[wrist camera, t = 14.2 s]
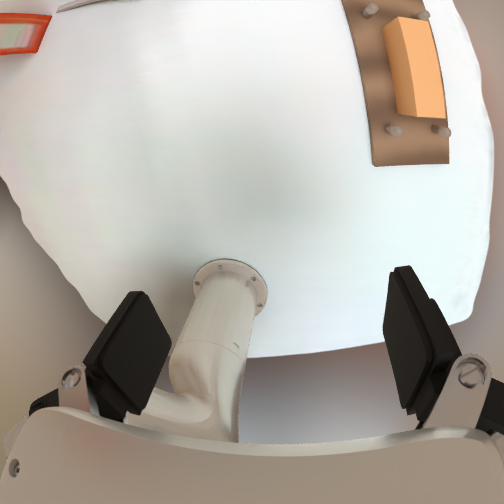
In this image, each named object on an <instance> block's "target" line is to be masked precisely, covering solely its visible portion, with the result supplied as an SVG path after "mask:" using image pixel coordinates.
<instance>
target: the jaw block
mask: <svg viewBox="0 0 504 504" xmlns="http://www.w3.org/2000/svg"><path fill="white" fill-rule="evenodd" d="M381 29H382V32H383V36H384V40H385V45H386V49H387V53H388V58H389V63H390V68H391V73H392V79H393V85H394V92H395V99H396V106H397V114H402V115H409V116H415V117H431V118H446V116H445V105H444V96H443V88H442V82H441V75H440V69H439V64H438V59H437V54H436V50H435V45H434V41H433V37H432V33H431V29H430V26H429V22H428V21H423V20H417V19H411V18H405V17H397V18H395V19H394V20H392V21H391V22H390V23H388V24H387V25H385V26H384V27H383V28H381Z"/></svg>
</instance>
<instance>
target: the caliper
mask: <svg viewBox="0 0 504 504" xmlns="http://www.w3.org/2000/svg"><path fill="white" fill-rule="evenodd" d="M96 1H100V0H75V1H72V2H69V3H67V4H64V5H62V6H59V7H58V9H57V12H56V13H58V12H62V11H66V10H69V9H72V8H75V7H79V6H82V5H85V4H89V3H92V2H96Z"/></svg>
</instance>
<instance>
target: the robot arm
mask: <svg viewBox="0 0 504 504" xmlns="http://www.w3.org/2000/svg"><path fill="white" fill-rule="evenodd" d="M193 293H194V296H195V301H194V303H193V306H192V308H191V310H190V312H189V315H188V317H187V319H186V322H185V324H184V326H183V329H182V331H181V333H180V336H179V338H178V340H177V343H176V345H175V348H174V350H173V352H172V355H171V358H170V362H169V375H170V380H171V383H172V386H173V388H174V391H175V393H176V395H175V394H172V393H169V392H165V391H163V390H160V389H157V388H155V387H154V386H155V384H156V381H157V379H158V376H159V374H160V372H161V369H162V367H163V365H164V362H165V359H166V357H167V355H168V353H169V350H170V348H171V344H172V343H171V339H170V337H169V335H168V333H167V331H166V329H165V328H164V326H163V324H162V322H161V320H160V318H159V316H158V314H157V312H156V310H155V308H154V306H153V305H152V303H151V301H150V298H149V297H148V295H146V294H145V293H144V292H143V291H131V292H129V293H128V294H127V296H126V297H125V298H124V300H123V301H122V303H121V304H120V305H119V307H118V308H117V310H116V311H115V313H114V314H113V316H112V317H111V319H110V320H109V321H108V323H107V324H106V326H105V327H104V329H103V331H102V332H101V334H100V335H99V337H98V338H97V340H96V341H95V343H94V344H93V346H92V347H91V349H90V351H89V352H88V354H87V355H86V357H85V359H84V361H83V363H84V365H85V366H86V369H85V370H84V368H82V366H79V365H74V366H71V367H69V368H67V369H66V370H65V371H64V372H63V373H62V375H61V376H60V378H59V382H58V388H57V389H55V390H54V391H52V392H50V393H48V394H46V395H44V396H42V397H40V398H38V399H37V400H35V401H34V402H33V403H32V404H31V406H30V410H29V415H28V414H27V415H26V416H25V417H24V418H23V419H22V420H20V421H19V422H18V423H17V424H16V425H15V426H14V427H13V428H12V429H11V430H10V431H9V432H7V434H6V435H5V437H4V441H3V445H4V449H5V453H6V456H7V459H8V460H7V462H6V465H5V468H4V470H3V473H2V476H1V479H0V504H504V383H502V382H500V381H498V380H495V379H493V378H491V374H492V373H491V368H490V366H489V364H488V362H487V361H486V360H485V359H484V358H483V357H481V356H479V355H477V354H472V353H471V354H464V355H462V354H461V352H460V349H459V347H458V345H457V343H456V340H455V338H454V336H453V334H452V332H451V330H450V328H449V326H448V324H447V322H446V320H445V318H444V316H443V314H442V312H441V310H440V308H439V307H438V305H437V303H436V301H435V300H434V299H432V298H431V299H429V297H428V295H427V293H426V291H425V290H424V288H423V286H422V284H421V282H420V281H419V279H418V277H417V276H416V274H415V272H414V270H413V269H412V267H411V266H409V265H408V266H401V267H396V268H395V269H394V272H390V275H389V284H388V293H387V301H386V308H385V315H384V321H383V335H384V339H385V342H386V346H387V349H388V353H389V357H390V361H391V364H392V369H393V373H394V377H395V381H396V385H397V390H398V394H399V399H400V403H401V407H402V409H405V408H406V411H407V415H411V414H415V413H416V416H417V420H419V423H418V425H417V426H416V428H415V430H412V431H406V432H401V433H395V434H388V435H383V436H377V437H371V438H364V439H356V440H347V441H338V442H327V443H313V444H248V443H239V434H238V432H239V431H238V430H239V429H238V415H239V402H240V394H241V387H242V381H243V376H244V370H245V364H246V359H247V353H248V348H249V342H250V336H251V331H252V325H253V319H254V316H256V315H257V314H259V313H260V312H261V311H262V309H263V308H264V306H265V304H266V300H267V288H266V284H265V282H264V280H263V279H262V277H261V276H260V275H259V274H258V273H257V272H256V271H255V270H254V269H253V268H251V267H250V266H248V265H246V264H244V263H241V262H238V261H234V260H226V259H225V260H216V261H212V262H210V263H208V264H206V265H204V266H203V267H202V268H201V269H200V270H199V271H198V272H197V274H196V276H195V278H194V281H193Z"/></svg>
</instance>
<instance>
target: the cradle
mask: <svg viewBox="0 0 504 504" xmlns="http://www.w3.org/2000/svg"><path fill="white" fill-rule="evenodd" d="M342 3H343V6H344V10H345V13H346V16H347V20H348V23H349V27H350V30H351V34H352V38H353V42H354V46H355V50H356V54H357V59H358V63H359V68H360V73H361V78H362V83H363V89H364V95H365V101H366V108H367V115H368V122H369V130H370V139H371V149H372V161H373V165H374V166H375V167H380V166H397V165H421V164H449V137H450V135H451V130H450V129H449V128H448V119H447V108H446V99H445V92H444V85H443V78H442V73H441V67H440V62H439V57H438V53H437V48H436V44H435V40H434V36H433V33H432V29H431V25H430V22H429V19H428V18H429V17H430V14H429V12H428V11H426V10H425V7H424V4H423V1H422V0H342ZM397 17H405V18H411V19H417V20H423V21H428V22H429V26H430V29H431V33H432V37H433V41H434V45H435V50H436V54H437V59H438V64H439V69H440V75H441V82H442V88H443V96H444V105H445V116H446V118H431V117H415V116H409V115H402V114H397V106H396V99H395V92H394V85H393V79H392V73H391V68H390V63H389V58H388V53H387V49H386V45H385V40H384V36H383V32H382V29H381V28H383V27H384V26H385V25H387V24H388V23H390V22H391V21H392V20H394V19H395V18H397Z"/></svg>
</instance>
